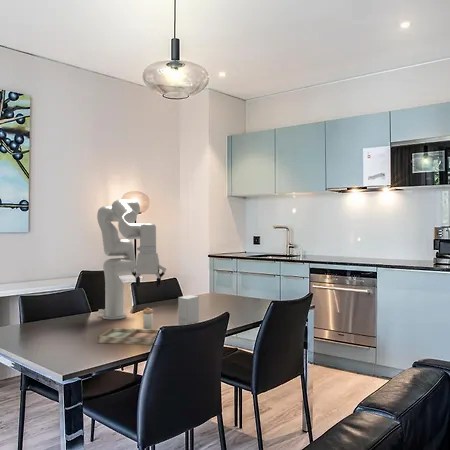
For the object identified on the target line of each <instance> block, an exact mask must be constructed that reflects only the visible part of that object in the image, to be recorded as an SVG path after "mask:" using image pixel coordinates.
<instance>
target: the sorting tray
mask: <svg viewBox="0 0 450 450" xmlns="http://www.w3.org/2000/svg"><path fill="white" fill-rule="evenodd" d="M158 330H159V329H154V328H153V329H143V328H124V327H123V328H122V327H121V328H120V327H119V328H117V327H111V328H109V329H108V330H107V331H105V332H103V333H102V334H100V335H98V336H97V343H98V344H124V345H125V344H127V345H147V346H148V345H151V346H153V345H154V344H153V342H154V339H155V337H156V334H157V332H158ZM152 344H153V345H152Z"/></svg>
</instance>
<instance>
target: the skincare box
mask: <svg viewBox="0 0 450 450" xmlns="http://www.w3.org/2000/svg"><path fill="white" fill-rule="evenodd" d="M177 299H178V300H177V302H178V304H177V305H178V308H177V309H178V311H177V312H178V313H177V314H178V317H177V318H178V319H177V320H178V325H185V324H192V323H198V322H200V321H199V312H200V311H199V309H200V308H199V304H200V303H199V302H200V301H199V300H200V299H199V295H193V294H188V295H183V296H178V298H177ZM178 325H177V326H178Z"/></svg>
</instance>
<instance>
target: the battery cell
mask: <svg viewBox="0 0 450 450" xmlns="http://www.w3.org/2000/svg"><path fill="white" fill-rule="evenodd" d="M142 312H143V313H142V316H143V318H142V320H143V323H142V325H143V328H142V329H154V319H153V318H154V309H152V308H150V307H146V308H144V309H142Z"/></svg>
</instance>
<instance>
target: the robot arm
mask: <svg viewBox="0 0 450 450" xmlns="http://www.w3.org/2000/svg"><path fill="white" fill-rule="evenodd" d="M140 211H141V206H140V203H139V202H138V201H137V200H134V199H116V200H114V201H113V202H112V204H111V205H105V206H101V207H100V208H99V209H98V210H97V215H96V219H97V223H98V226H99V228H100V231H101V236H102V238H101V239H102V244H103V250H104V254H105V256H107V257H114V258H109V259H107V260H105V261H104V263H103V273H104V283H105V284H104V286H105V287H104V291H105V295H104V298H105V299H104V300H105V301H104V302H105V304H104V305H105V306H104V307H105V308H104V309H102V308H101V309H98V314H103V315H101V317H102V319H104V320H111V321H112V320H121V319H125V318H127V314H126V313H125V312H124V283H123V281H122V279H121V278H120V277H122V276H123V277H125V276H131V275H132V276H133V277H134V278H135V285H136V287H140V286H141V277H140V276H141V275H155V276H156V288H159V287H160V286H161V285H162V277H163V276H164V275H165V274H166V271H167V268H166V267H164V266H162V265H161V264H160V259H159V258H160V257H159V254H158V252H157V226H156V224H154V223H143V222H141V223H135V222H136V221H137V218H138V217H137V216H138V215H139V214H140ZM112 222H113V223H112ZM115 222H116V223H117V227H118V228H117V227H116V226H115V225H114V223H115ZM119 233H120V234H121V236H122V237H123V238H119ZM132 240H139V246H138V247H136V251H139V252H138V253H137V258H136V254H135V247H134V244H133V242H132ZM117 257H118V258H117ZM160 270H162V271H161V273H160Z"/></svg>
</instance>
